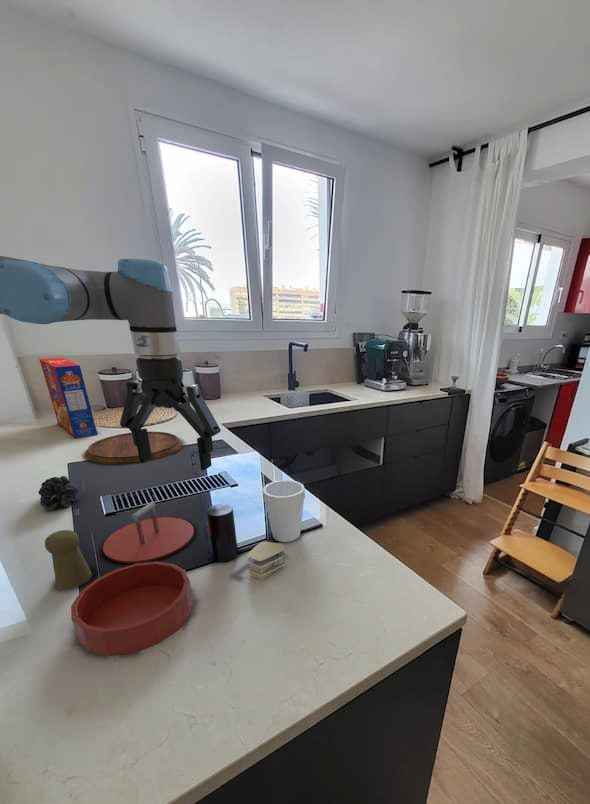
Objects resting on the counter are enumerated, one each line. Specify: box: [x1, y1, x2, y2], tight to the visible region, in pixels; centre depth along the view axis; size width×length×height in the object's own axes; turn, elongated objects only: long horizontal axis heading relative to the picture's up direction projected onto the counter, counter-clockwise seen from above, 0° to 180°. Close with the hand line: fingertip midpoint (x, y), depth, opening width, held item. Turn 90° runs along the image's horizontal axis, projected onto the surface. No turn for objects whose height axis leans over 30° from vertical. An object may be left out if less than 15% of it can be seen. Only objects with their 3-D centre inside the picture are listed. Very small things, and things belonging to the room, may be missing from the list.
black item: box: [206, 503, 239, 563], centre depth 84 cm, size 5×5×12 cm
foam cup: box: [262, 479, 306, 543], centre depth 92 cm, size 10×9×13 cm
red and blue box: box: [38, 357, 98, 440], centre depth 162 cm, size 28×8×28 cm, turn 46°
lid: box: [102, 501, 195, 564], centre depth 90 cm, size 19×19×9 cm
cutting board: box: [84, 431, 183, 465], centre depth 147 cm, size 32×32×2 cm
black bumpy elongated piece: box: [37, 475, 79, 511], centre depth 106 cm, size 9×8×15 cm
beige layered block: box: [245, 541, 286, 581], centre depth 81 cm, size 10×9×6 cm
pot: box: [70, 561, 194, 657], centre depth 68 cm, size 18×18×6 cm
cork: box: [44, 529, 93, 590], centre depth 76 cm, size 6×6×11 cm
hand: (176, 464), depth 80 cm, fingers open, 13 cm apart
